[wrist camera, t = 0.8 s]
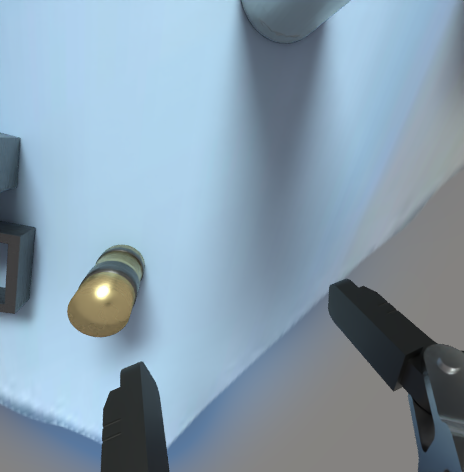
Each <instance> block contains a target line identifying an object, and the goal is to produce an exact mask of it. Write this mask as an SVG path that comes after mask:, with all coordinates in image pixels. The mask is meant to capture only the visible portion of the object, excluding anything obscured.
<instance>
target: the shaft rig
mask: <svg viewBox="0 0 464 472" xmlns="http://www.w3.org/2000/svg"><path fill="white" fill-rule="evenodd" d="M19 147H20V138H19V137H15V136H11V135H7V134H4V133H0V192H2V191H6V190H9V189H13V188H16V187H17V178H18V162H19ZM34 239H35V227H30V226H25V225H19V224H14V223H9V222H4V221H0V242H1V243H6V244H8V257H7V274H6V288H3V287H0V312H5V313H13V314H15V313H16V312H17V311H18V310H19V309H20V308H21V307H22V306H23V305H24V304H25V303H26V302H27V301H28V300H29V296H30V285H31V273H32V262H33V250H34Z"/></svg>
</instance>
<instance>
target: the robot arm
mask: <svg viewBox="0 0 464 472" xmlns="http://www.w3.org/2000/svg"><path fill="white" fill-rule="evenodd" d="M349 1H351V0H242V4H243V8H244V10H245V13H246V15H247V17H248V19H249V21H250V22H251V23H252V25H253V26H254V28H255V29H256V30H257V31H258V32H259V33H261V34H262V35H263V36H264V37H266V38H268V39H270V40H272V41H275V42H279V43H292V42H296V41H299V40H301V39H303V38H305V37H307V36H308V35H309V34H310V33H311V32H313V31H314V30H315V29H316V28H318V27H319V26H320V25H321V24H322V23H324V22H325V21H326V20H328V19H329V18H330V17H331V16H333V15H334V14H335V13H336V12H337V11H339V10H340V9H341V8H342V7H343V6H345V5H346V4H347V3H348V2H349ZM328 309H329V314H330V316H331V318H332V320H333V321H334V323H335V324H336V325H337V326H338V327H339V328H340V329H341V331H342V332H343V333H344V334H345V335H346V337H347V338H348V339H349V340H350V341H351V342H352V344H353V345H354V346H355V347H356V348H357V349H358V351H359V352H360V353H361V354H362V355H363V356H364V358H365V359H366V360H367V361H368V362H369V363H370V364H371V366H372V367H373V368H374V369H375V370H376V372H377V373H378V374H379V375H380V376H381V377H382V379H383V380H384V381H385V382H386V383H387V384H388V386H389V387H390V388H391V389H392V390H393V391H396V390H397V389H399V388H401V387H403V388H404V389H405V390H406V391H407V392H408V400H409V405H410V411H411V416H412V421H413V426H414V432H415V438H416V443H417V449H418V457H419V463H418V472H464V351H460V350H458V349H456V348H454V347H451V346H448V345H444V344H437V343H436V342H434V341H433V340H432V339H430V338H429V337H428V336H427V335H426V334H425V333H423V332H422V331H421V330H420V329H419V328H418V327H416V326H415V325H414V324H413V323H412V322H411V321H410V320H408V319H407V318H406V317H405V316H404V315H403V314H401V313H400V312H399V311H397V310H396V309H395V308H394V307H393V306H392V305H391V304H390V303H387V301H386V300H385V299H384V298H383V297H382V296H380V295H379V294H378V293H377V292H375V291H373V290H371V289H369V288H367V287H365V286H362V287H360V288H359V287H357V286H356V285H355V284H354V283H353V282H352V281H351V280H349V279H344V280H342V281H339V282H337V283H334V284H332V285H330V287H329V303H328ZM102 441H103V444H102V455H101V472H169V464H168V456H167V449H166V441H165V433H164V425H163V417H162V410H161V402H160V395H159V391H158V387H157V385H156V382H155V380H154V379H153V377H152V376H151V374H150V372H149V371H148V369H147V367H146V366H145V364H144V363H143V362H142V361H141V362H139V363H136V364H134V365H131V366H129V367H127V368H124V369H122V370H121V373H120V387H119V388H117V389H115V390H112V391H110V393H109V395H108V398H107V401H106V403H105V406H104V408H103V431H102Z"/></svg>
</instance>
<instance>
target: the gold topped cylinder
mask: <svg viewBox="0 0 464 472" xmlns="http://www.w3.org/2000/svg"><path fill="white" fill-rule="evenodd" d="M144 266H145V265H144V259H143V257H142V255H141V254H140V252H139V251H138V250H136V249H135V248H133V247H131V246H128V245H115V246H112V247H110V248H109V249H107V250H106V251H105V252H104V253H103V254H102V255H101V256H100V257H99V259H98V260H97V262H96V265H95V266H94V267H93V268H92V269H91V270H90V271H89V273H88V274H87V276H86V277H85V278H84V280H83V281H82V283H81V284H80V286H79V289H78V290H77V292H76V293H75V295H74V296H73V298H72V299H71V301H70V302H69V305H68V310H67V313H68V318H69V320H70V322H71V324H72V325H73V326H74V327H75V328H76V329H77V330H78V331H80V332H81V333H83V334H86V335H89V336H93V337H106V336H111V335H113V334H116V333H118V332H119V331H121V330H122V329H123V328H124V327H125V326H126V324H127V322H128V320H129V317H130V314H131V310H132V307H133V306H134V304H135V301H136V297H137V294H138V290H139V286H140V281H141V279H142V277H143V273H144Z"/></svg>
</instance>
